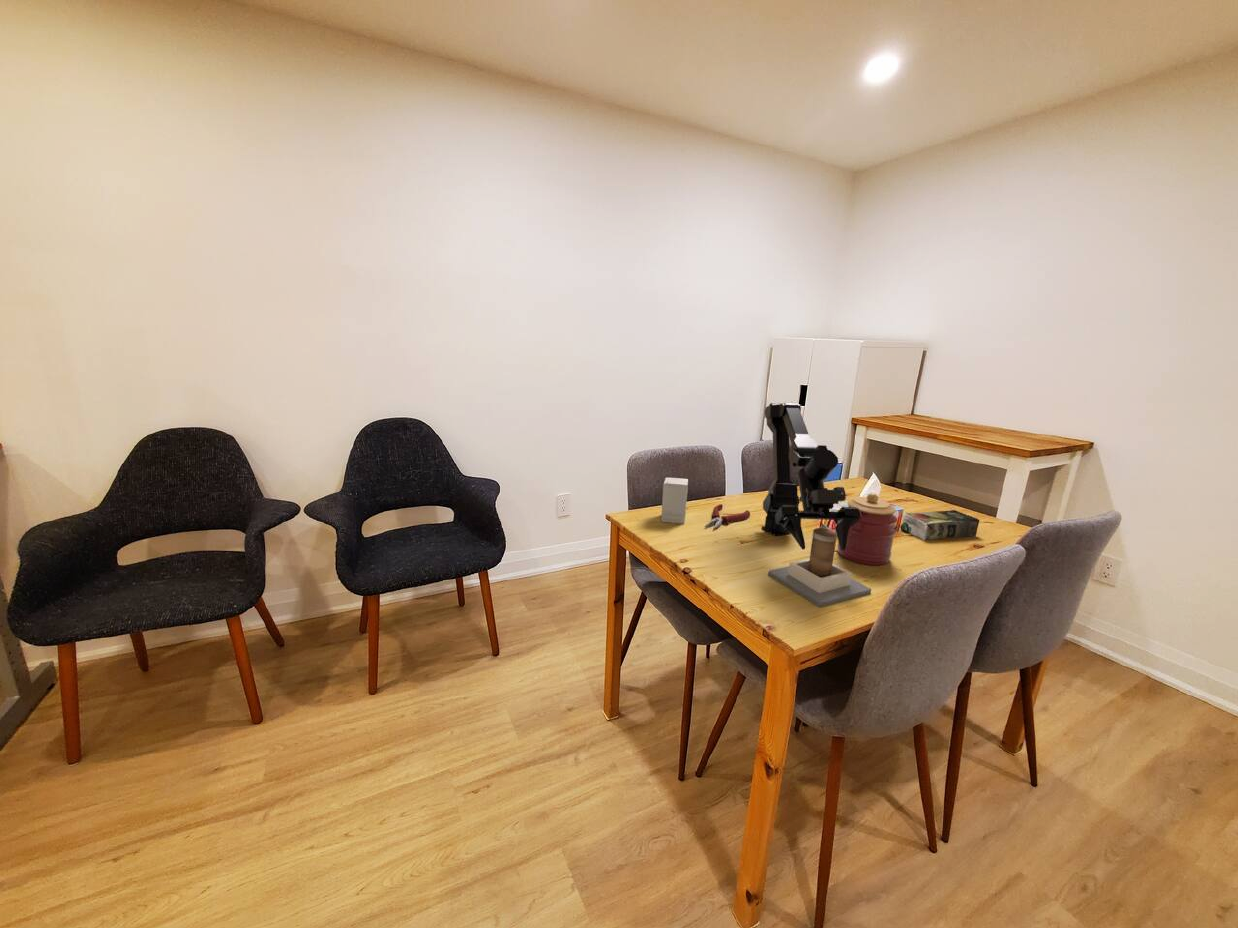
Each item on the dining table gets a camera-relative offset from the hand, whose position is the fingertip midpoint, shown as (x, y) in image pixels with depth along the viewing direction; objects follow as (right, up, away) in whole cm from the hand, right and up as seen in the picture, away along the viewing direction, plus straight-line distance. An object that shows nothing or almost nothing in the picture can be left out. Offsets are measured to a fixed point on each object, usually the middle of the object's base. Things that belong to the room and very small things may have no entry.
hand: (823, 549), depth 112 cm
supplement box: (-30, +2, +41) cm, 51 cm away
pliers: (-15, +2, +43) cm, 46 cm away
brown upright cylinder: (0, -7, +3) cm, 8 cm away
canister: (+19, -5, +19) cm, 27 cm away
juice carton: (+50, -2, +37) cm, 63 cm away
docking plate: (0, -8, +3) cm, 9 cm away
